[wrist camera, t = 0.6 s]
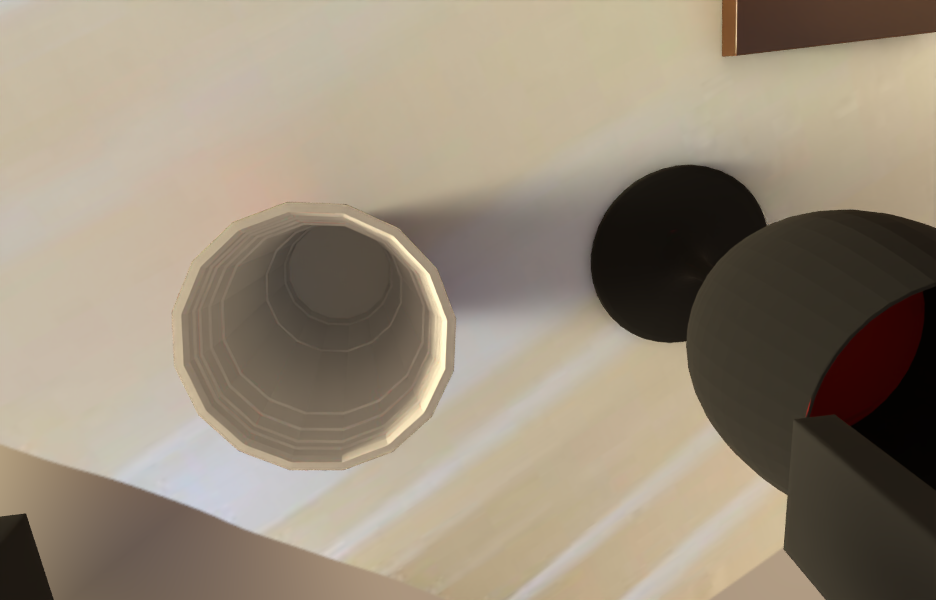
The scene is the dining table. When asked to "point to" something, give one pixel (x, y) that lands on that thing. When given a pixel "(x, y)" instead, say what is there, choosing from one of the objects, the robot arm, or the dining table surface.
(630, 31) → the dining table surface
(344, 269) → the plastic cup
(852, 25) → the peg rack
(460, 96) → the dining table surface
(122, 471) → the dining table surface
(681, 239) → the wine glass
